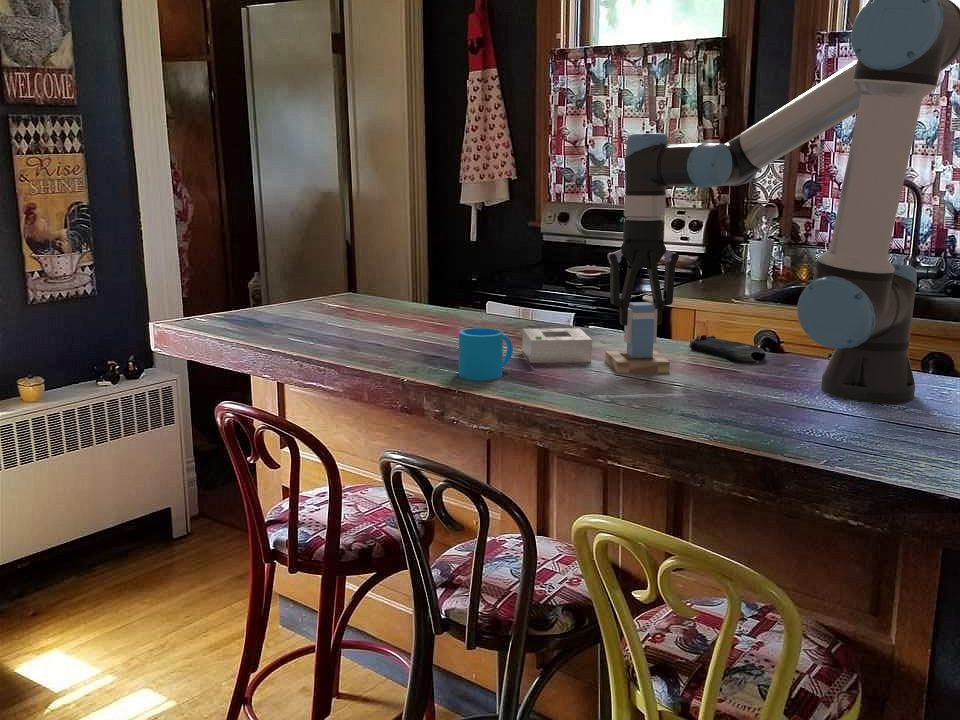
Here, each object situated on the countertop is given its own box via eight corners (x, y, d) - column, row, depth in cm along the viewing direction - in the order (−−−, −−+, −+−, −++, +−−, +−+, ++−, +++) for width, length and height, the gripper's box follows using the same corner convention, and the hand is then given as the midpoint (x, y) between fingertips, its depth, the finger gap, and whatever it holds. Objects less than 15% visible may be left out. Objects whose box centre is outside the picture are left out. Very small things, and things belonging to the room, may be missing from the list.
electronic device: (686, 360, 192) (747, 364, 181) (687, 334, 192) (748, 336, 180) (713, 361, 198) (774, 364, 186) (714, 335, 198) (775, 337, 186)
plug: (653, 357, 174) (654, 305, 172) (631, 357, 174) (633, 305, 171) (647, 353, 178) (648, 302, 176) (626, 353, 178) (628, 302, 175)
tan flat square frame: (669, 374, 172) (670, 361, 172) (617, 375, 171) (617, 362, 171) (654, 362, 182) (655, 350, 182) (604, 363, 181) (605, 351, 181)
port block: (591, 364, 180) (592, 337, 179) (530, 365, 179) (531, 338, 177) (578, 351, 191) (579, 326, 190) (522, 352, 190) (522, 326, 189)
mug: (478, 382, 165) (479, 338, 163) (449, 374, 171) (449, 331, 169) (526, 372, 173) (527, 330, 171) (497, 365, 179) (497, 324, 177)
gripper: (682, 217, 175) (677, 337, 180) (594, 217, 173) (591, 339, 178) (695, 219, 167) (690, 344, 172) (603, 220, 166) (600, 346, 171)
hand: (640, 341), depth 175 cm, fingers closed on plug, 4 cm apart
